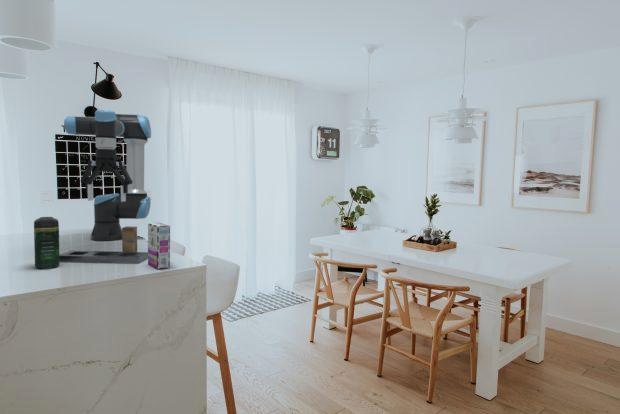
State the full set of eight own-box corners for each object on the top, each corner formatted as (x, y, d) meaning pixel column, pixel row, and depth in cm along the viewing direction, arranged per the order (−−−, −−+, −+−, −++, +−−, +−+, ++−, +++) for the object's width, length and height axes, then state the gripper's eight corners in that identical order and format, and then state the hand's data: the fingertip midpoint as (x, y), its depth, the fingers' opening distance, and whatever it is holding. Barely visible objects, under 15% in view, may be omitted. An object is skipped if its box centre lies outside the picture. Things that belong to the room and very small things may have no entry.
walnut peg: (126, 253, 178) (126, 226, 177) (137, 253, 178) (137, 226, 177) (122, 255, 174) (122, 227, 173) (133, 255, 174) (132, 228, 173)
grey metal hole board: (70, 256, 169) (70, 250, 169) (148, 258, 170) (148, 252, 170) (56, 261, 159) (56, 255, 159) (138, 263, 160) (138, 257, 160)
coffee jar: (60, 267, 151) (59, 218, 149) (34, 270, 146) (33, 219, 145) (59, 262, 159) (58, 215, 157) (35, 264, 154) (33, 216, 153)
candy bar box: (170, 268, 155) (170, 225, 153) (157, 269, 152) (157, 226, 150) (160, 262, 163) (159, 222, 162) (147, 264, 160) (147, 222, 159)
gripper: (70, 147, 162) (71, 200, 164) (132, 149, 162) (133, 202, 164) (80, 148, 170) (82, 199, 172) (140, 150, 169) (140, 200, 171)
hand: (107, 200), depth 168 cm, fingers open, 13 cm apart
